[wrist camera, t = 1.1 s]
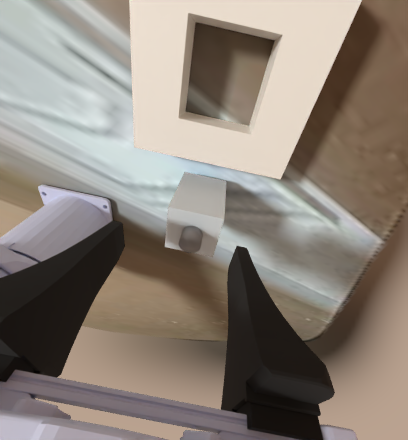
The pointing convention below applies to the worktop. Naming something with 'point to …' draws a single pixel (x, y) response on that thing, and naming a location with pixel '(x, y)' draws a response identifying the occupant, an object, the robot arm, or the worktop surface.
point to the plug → (196, 214)
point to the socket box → (270, 89)
